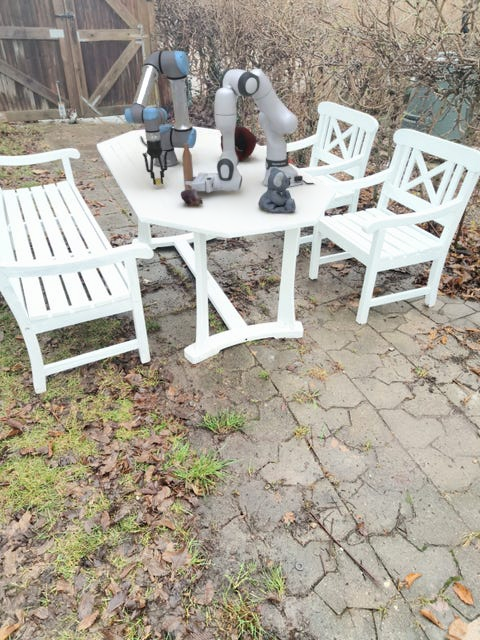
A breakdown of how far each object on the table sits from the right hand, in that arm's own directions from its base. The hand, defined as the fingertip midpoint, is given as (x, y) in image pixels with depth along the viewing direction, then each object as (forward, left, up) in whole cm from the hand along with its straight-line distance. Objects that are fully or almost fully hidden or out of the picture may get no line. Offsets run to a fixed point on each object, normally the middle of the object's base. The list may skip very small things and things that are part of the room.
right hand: (187, 180), depth 244 cm
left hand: (+14, -12, -4) cm, 19 cm away
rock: (+2, +19, -7) cm, 21 cm away
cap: (+14, -12, -2) cm, 19 cm away
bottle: (-1, 0, -7) cm, 7 cm away
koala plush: (-37, +38, -7) cm, 54 cm away
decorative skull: (-46, -56, -7) cm, 73 cm away
